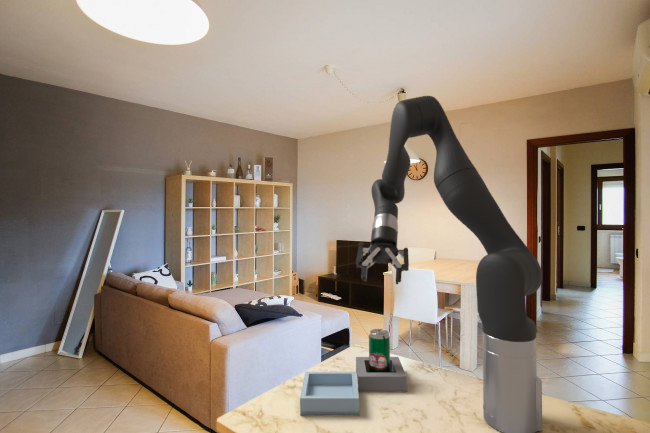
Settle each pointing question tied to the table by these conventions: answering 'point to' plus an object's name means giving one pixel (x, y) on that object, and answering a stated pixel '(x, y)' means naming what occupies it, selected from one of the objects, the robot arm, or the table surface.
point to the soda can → (379, 351)
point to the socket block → (381, 377)
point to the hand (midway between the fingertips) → (380, 281)
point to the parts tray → (329, 394)
